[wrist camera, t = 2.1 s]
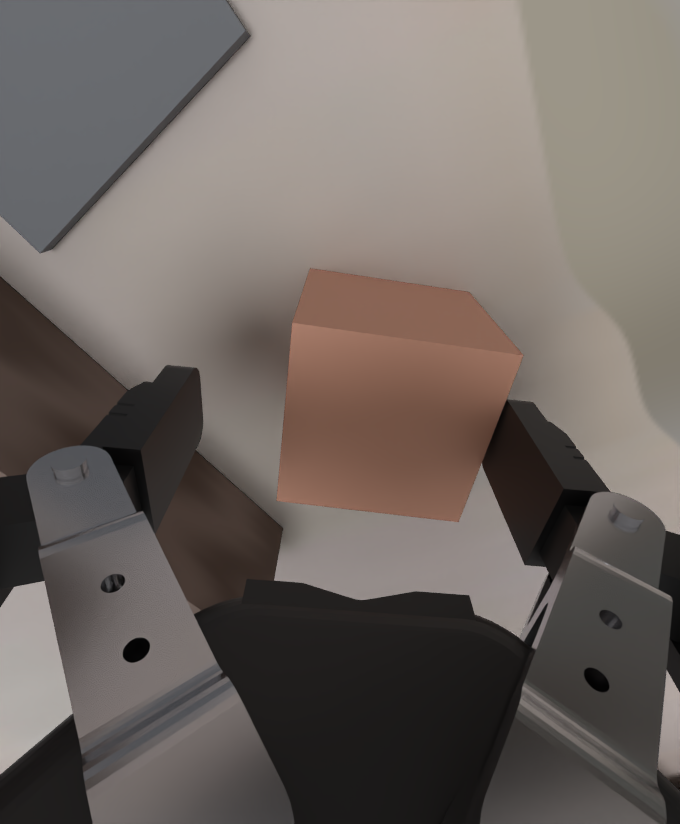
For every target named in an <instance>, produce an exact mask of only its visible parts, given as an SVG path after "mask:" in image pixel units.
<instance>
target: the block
mask: <svg viewBox="0 0 680 824" xmlns="http://www.w3.org/2000/svg"><path fill="white" fill-rule="evenodd" d="M523 356H524V355H523V354H522V353H521V352H520V351H519V350H518V348H517V347H516V346H515V345H514V344H513V343H512V341H511V340H510V339H509V338H508V337H507V336H506V334H505V333H504V332H503V331H502V330H501V329H500V328H499V326H498V325H497V324H496V323H495V322H494V321H493V319H492V318H491V317H490V316H489V315H488V314H487V312H486V311H485V310H484V309H483V308H482V307H481V306H480V304H479V303H478V302H477V301H476V300H475V299H474V297H473V296H472V295H471V294H470V293H469V292H465V291H459V290H452V289H445V288H438V287H432V286H425V285H418V284H412V283H405V282H398V281H391V280H385V279H378V278H371V277H365V276H358V275H351V274H344V273H338V272H331V271H324V270H318V269H311V268H310V270H309V273H308V276H307V279H306V282H305V285H304V288H303V291H302V294H301V297H300V301H299V304H298V307H297V310H296V313H295V316H294V319H293V322H292V331H291V342H290V354H289V365H288V376H287V388H286V399H285V410H284V422H283V433H282V444H281V456H280V467H279V479H278V490H277V501H282V502H291V503H299V504H308V505H316V506H325V507H333V508H342V509H351V510H359V511H368V512H376V513H385V514H393V515H402V516H411V517H419V518H428V519H436V520H445V521H453V522H459V519H460V517H461V514H462V512H463V509H464V507H465V504H466V502H467V499H468V496H469V494H470V491H471V489H472V486H473V484H474V481H475V479H476V476H477V473H478V471H479V468H480V466H481V463H482V461H483V458H484V456H485V453H486V450H487V448H488V445H489V443H490V440H491V438H492V435H493V433H494V430H495V427H496V425H497V422H498V420H499V417H500V415H501V412H502V410H503V407H504V404H505V402H506V399H507V397H508V394H509V392H510V389H511V387H512V384H513V381H514V379H515V376H516V374H517V371H518V369H519V366H520V363H521V361H522V358H523Z"/></svg>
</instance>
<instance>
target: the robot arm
mask: <svg viewBox="0 0 680 824" xmlns="http://www.w3.org/2000/svg"><path fill="white" fill-rule="evenodd" d="M202 429H203V412H202V398H201V383H200V374H199V371H198V369H197V368H191V367H181V366H171V365H167V366H165V367H164V369H163V370H162V371H161V373H160V374H159V375H158V376H157V378H156V379H155V380H154V381H153V383H152V382H143V383H141V384H139V385H137V386H135V387H133V388H132V389H130V390H128V391H127V392H126V393H125V394H124V395H123V396H122V397H121V399H120V400H119V401H118V402H117V405H115V406H114V407H113V408H112V409H111V410H110V411H109V415H106V416H105V417H104V418H103V419H102V421H101V422H100V423H99V424H98V425H97V426H96V427H95V429H94V430H93V431H92V432H91V433H90V434H89V436H88V437H87V438H86V439H85V440H84V441H83V443H82V444H81V445H80V446H71V447H66V448H62V449H59V450H56V451H53V452H51V453H49V454H47V455H45V456H43V457H41V458H40V459H38V460H37V461H36V462H35V463H33V465H32V466H31V467H30V468H29V470H28V472H27V474H23V475H15V476H6V477H0V607H1V605H2V604H3V602H4V601H5V599H6V598H7V596H8V595H9V593H10V592H11V590H12V589H13V587H15V586H20V585H25V584H30V583H36V582H41V581H45V585H46V590H47V594H48V599H49V604H50V608H51V613H52V618H53V622H54V627H55V632H56V636H57V641H58V645H59V650H60V655H61V659H62V664H63V669H64V673H65V678H66V683H67V687H68V692H69V696H70V701H71V706H72V710H73V714H71V715H70V716H69V717H68V718H67V719H66V720H64V721H63V722H62V723H61V724H60V725H58V726H57V727H56V728H55V729H54V730H53V731H51V732H50V733H49V734H48V735H47V736H45V737H44V738H43V739H42V740H41V741H40V742H38V743H37V744H36V745H35V746H34V747H32V748H31V749H30V750H29V751H28V752H27V753H25V754H24V755H23V756H22V757H21V758H19V759H18V760H17V761H16V762H15V763H14V764H12V765H11V766H10V767H9V768H8V769H6V770H5V771H4V772H3V773H2V774H1V775H0V824H680V791H679V790H678V789H677V788H676V787H675V786H674V785H673V784H672V783H671V782H670V781H669V780H668V779H667V778H666V777H665V776H664V775H663V774H662V773H661V772H660V771H658V770H657V766H658V756H659V745H660V734H661V724H662V713H663V702H664V692H665V681H666V670H667V671H668V672H669V674H670V676H671V678H672V679H673V681H674V683H675V685H676V687H677V688H678V690H679V692H680V535H678V534H675V533H671V532H668V531H666V530H665V527H664V525H663V523H662V521H661V520H660V519H659V517H658V516H657V515H656V514H655V513H654V512H652V511H651V510H650V509H649V508H647V507H646V506H644V505H643V504H641V503H640V502H638V501H636V500H634V499H632V498H629V497H627V496H624V495H621V494H618V493H613V492H610V491H609V489H608V488H607V487H606V485H605V484H604V483H603V481H602V480H601V479H600V477H599V476H598V475H597V474H596V472H595V471H594V470H593V468H592V467H591V466H590V464H589V463H588V462H587V460H584V457H583V455H582V454H581V453H580V451H579V450H578V449H576V446H575V445H574V443H573V442H572V441H571V439H570V438H569V437H568V436H567V434H566V433H564V432H563V431H562V430H560V429H559V428H558V427H556V426H555V425H554V424H552V423H551V422H547V420H546V419H545V418H544V416H543V415H542V414H541V412H540V411H539V409H538V408H537V407H536V405H535V404H534V403H533V402H528V401H517V400H507V399H506V402H505V404H504V407H503V410H502V412H501V415H500V417H499V420H498V422H497V425H496V427H495V430H494V433H493V435H492V438H491V440H490V443H489V445H488V448H487V450H486V453H485V456H484V458H483V461H482V465H483V469H484V471H485V473H486V476H487V478H488V480H489V483H490V485H491V487H492V490H493V492H494V494H495V497H496V499H497V501H498V504H499V506H500V508H501V511H502V513H503V515H504V518H505V520H506V522H507V525H508V527H509V529H510V532H511V534H512V536H513V539H514V541H515V543H516V546H517V548H518V550H519V553H520V555H521V557H522V560H523V562H524V564H525V565H530V566H542V567H546V568H547V570H548V572H549V573H548V574H547V576H546V578H545V580H544V582H543V584H542V586H541V588H540V591H539V593H538V595H537V598H536V600H535V602H534V605H533V607H532V609H531V612H530V614H529V616H528V619H527V621H526V623H525V626H524V628H523V630H522V633H521V635H520V637H519V638H518V637H517V636H515V635H514V634H513V633H511V632H510V631H508V630H507V629H505V628H503V627H501V626H499V625H498V624H496V623H494V622H492V621H489V620H487V619H485V618H482V617H480V616H477V615H474V611H473V607H472V604H471V600H470V597H469V595H456V594H443V593H429V592H410V593H404V594H398V595H392V596H386V597H381V598H375V599H369V600H355V599H352V598H349V597H345V596H342V595H339V594H336V593H333V592H329V591H326V590H323V589H320V588H317V587H314V586H310V585H307V584H304V583H295V582H282V581H268V580H255V579H247V580H246V585H245V589H244V594H243V597H239V598H234V599H230V600H226V601H223V602H219V603H217V604H214V605H212V606H209V607H207V608H205V609H203V610H201V611H199V612H197V613H195V614H193V612H192V610H191V608H190V606H189V604H188V602H187V600H186V598H185V596H184V594H183V592H182V590H181V587H180V585H179V583H178V581H177V579H176V577H175V575H174V573H173V571H172V569H171V567H170V565H169V563H168V561H167V559H166V557H165V555H164V552H163V550H162V548H161V546H160V544H159V542H158V540H157V538H156V536H155V534H156V532H157V530H158V528H159V525H160V523H161V521H162V519H163V517H164V515H165V513H166V511H167V509H168V507H169V505H170V502H171V500H172V498H173V496H174V494H175V492H176V490H177V488H178V486H179V484H180V482H181V479H182V477H183V475H184V473H185V471H186V469H187V467H188V465H189V463H190V461H191V459H192V456H193V454H194V452H195V450H196V448H197V446H198V444H199V442H200V439H201V435H202Z"/></svg>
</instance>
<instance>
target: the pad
mask: <svg viewBox="0 0 680 824" xmlns="http://www.w3.org/2000/svg"><path fill="white" fill-rule="evenodd" d="M249 37H250V35H249V34H248V32H247V31H246V29H245V28H244V26H243V25H242V23H241V22H240V20H239V18H238V17H237V15H236V14H235V12H234V11H233V9H232V8H231V6H230V5H229V3H228V2H227V0H0V216H1V217H2V218H3V219H4V220H5V221H7V222H8V223H9V224H10V225H11V226H12V227H13V228H14V229H15V230H16V231H17V232H18V233H19V234H20V235H21V236H22V237H23V238H24V239H25V240H27V241H28V242H29V243H30V244H31V245H32V246H33V247H34V248H35V249H36V250H37V251H38V252H39V253H43V252H46V251H49V250H51V249H52V248H53V247H54V246H55V245H56V244H57V243H58V242H59V241H60V240H61V238H62V237H63V236H64V235H65V234H66V233H67V232H68V231H69V230H70V229H71V228H72V227H73V226H74V225H75V223H76V222H77V221H78V220H79V219H80V218H81V217H82V216H83V215H84V214H85V213H86V212H87V211H88V210H89V208H90V207H91V206H92V205H93V204H94V203H95V202H96V201H97V200H98V199H99V198H100V197H101V196H102V194H103V193H104V192H105V191H106V190H107V189H108V188H109V187H110V186H111V185H112V184H113V183H114V182H115V181H116V179H117V178H118V177H119V176H120V175H121V174H122V173H123V172H124V171H125V170H126V169H127V168H128V167H129V166H130V164H131V163H132V162H133V161H134V160H135V159H136V158H137V157H138V156H139V155H140V154H141V153H142V152H143V151H144V149H145V148H146V147H147V146H148V145H149V144H150V143H151V142H152V141H153V140H154V139H155V138H156V137H157V135H158V134H159V133H160V132H161V131H162V130H163V129H164V128H165V127H166V126H167V125H168V124H169V123H170V122H171V120H172V119H173V118H174V117H175V116H176V115H177V114H178V113H179V112H180V111H181V110H182V109H183V108H184V107H185V105H186V104H187V103H188V102H189V101H190V100H191V99H192V98H193V97H194V96H195V95H196V94H197V93H198V92H199V90H200V89H201V88H202V87H203V86H204V85H205V84H206V83H207V82H208V81H209V80H210V79H211V78H212V77H213V75H214V74H215V73H216V72H217V71H218V70H219V69H220V68H221V67H222V66H223V65H224V64H225V63H226V61H227V60H228V59H229V58H230V57H231V56H232V55H233V54H234V53H235V52H236V51H237V50H238V49H239V48H240V46H241V45H242V44H243V43H244V42H245V41H246V40H247V39H248V38H249Z"/></svg>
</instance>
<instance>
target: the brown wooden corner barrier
mask: <svg viewBox="0 0 680 824" xmlns="http://www.w3.org/2000/svg"><path fill="white" fill-rule="evenodd" d="M127 391H128V390H126V389H125V388H124V387H123V386H122V385H121V384H120V383H119V382H117V381H116V380H115V379H114V378H113V377H112V376H111V375H110V374H108V373H107V372H106V371H105V370H104V369H103V368H102V367H101V366H99V365H98V364H97V363H96V362H95V361H94V360H93V359H92V358H90V357H89V356H88V355H87V354H86V353H85V352H84V351H83V350H81V349H80V348H79V347H78V346H77V345H76V344H75V343H74V342H72V341H71V340H70V339H69V338H68V337H67V336H66V335H65V334H63V333H62V332H61V331H60V330H59V329H58V328H57V327H56V326H54V325H53V324H52V323H51V322H50V321H49V320H48V319H47V318H45V317H44V316H43V315H42V314H41V313H40V312H39V311H38V310H36V309H35V308H34V307H33V306H32V305H31V304H30V303H29V302H27V301H26V300H25V299H24V298H23V297H22V296H21V295H20V294H19V293H17V292H16V291H15V290H14V289H13V288H12V287H11V286H10V285H8V284H7V283H6V282H5V281H4V280H3V279H2V278H1V277H0V477H6V476H15V475H23V474H27V472H28V470H29V468H30V467H31V466H32V465H33V463H35V462H36V461H37V460H38V459H40V458H41V457H43V456H45V455H47V454H49V453H51V452H53V451H56V450H59V449H62V448H66V447H71V446H80V445H81V444H82V443H83V441H84V440H85V439H86V438H87V437H88V436H89V434H90V433H91V432H92V431H93V430H94V429H95V427H96V426H97V425H98V424H99V423H100V422H101V421H102V419H103V418H104V417H105V416H106V415H109V411H110V410H111V409H112V408H113V407H114V406H115V405H117V402H118V401H119V400H120V399H121V397H122V396H123V395H124V394H125V393H126V392H127ZM282 531H283V528H282V527H281V526H279V525H278V524H277V523H276V522H275V521H274V520H273V519H272V518H270V517H269V516H268V515H267V514H266V513H265V512H264V511H263V510H261V509H260V508H259V507H258V506H257V505H256V504H255V503H254V502H252V501H251V500H250V499H249V498H248V497H247V496H246V495H245V494H243V493H242V492H241V491H240V490H239V489H238V488H237V487H236V486H234V485H233V484H232V483H231V482H230V481H229V480H228V479H227V478H225V477H224V476H223V475H222V474H221V473H220V472H219V471H218V470H216V469H215V468H214V467H213V466H212V465H211V464H210V463H209V462H207V461H206V460H205V459H204V458H203V457H202V456H201V455H200V454H198V453H197V452H196V451H195V452H194V454H193V456H192V459H191V461H190V463H189V465H188V467H187V469H186V471H185V473H184V475H183V477H182V479H181V482H180V484H179V486H178V488H177V490H176V492H175V494H174V496H173V498H172V500H171V502H170V505H169V507H168V509H167V511H166V513H165V515H164V517H163V519H162V521H161V523H160V525H159V528H158V530H157V532H156V534H155V536H156V538H157V540H158V542H159V544H160V546H161V548H162V550H163V552H164V555H165V557H166V559H167V561H168V563H169V565H170V567H171V569H172V571H173V573H174V575H175V577H176V579H177V581H178V583H179V585H180V587H181V590H182V592H183V594H184V596H185V598H186V600H187V602H188V604H189V606H190V608H191V610H192V612H193V614H195V613H197V612H199V611H201V610H203V609H205V608H207V607H209V606H212V605H214V604H217V603H219V602H223V601H226V600H230V599H234V598H239V597H243V594H244V589H245V585H246V580H247V579H255V580H268V581H274V577H275V571H276V566H277V560H278V554H279V548H280V542H281V537H282Z"/></svg>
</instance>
